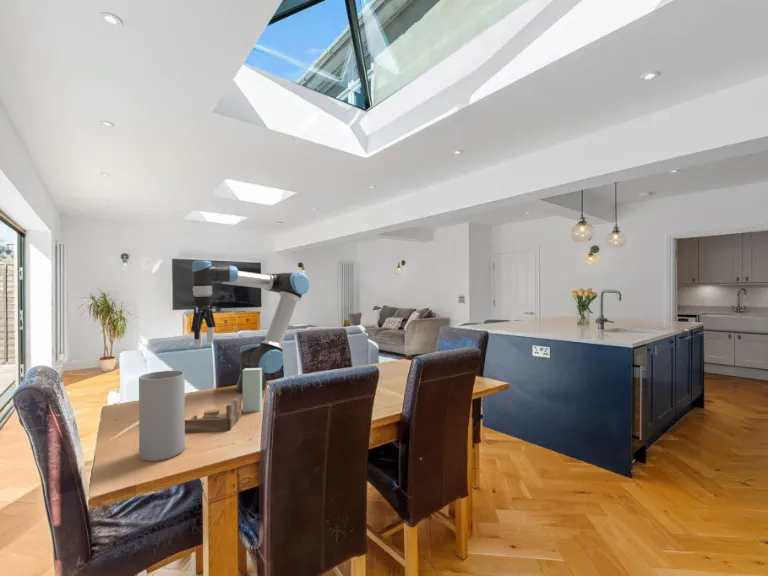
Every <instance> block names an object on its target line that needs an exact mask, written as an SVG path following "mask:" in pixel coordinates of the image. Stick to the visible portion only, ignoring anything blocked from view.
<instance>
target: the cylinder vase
mask: <svg viewBox="0 0 768 576" xmlns="http://www.w3.org/2000/svg"><path fill="white" fill-rule="evenodd" d="M185 392H186V390H185V371H184V370H183V371H182V370H162V371H154V372H149V373H144V374H142V375H140V376H138V430H139V431H138V432H139V433H138V439H139V440H138V441H139V442H138V443H139V445H138V450H139V452H138V455H139V458H140V459H141V460H142V461H146V462H158V461H165V460H168V459H172V458H174V457H176V456H179V455H180V454H181V453H182V452H183V451H184V450H185V447H186V437H185V436H186V432H185V420H186V419H185V418H186V417H185V415H186V413H185V410H186V409H185V408H186V407H185V406H186V405H185V403H186V401H185V398H186V397H185V394H186V393H185Z"/></svg>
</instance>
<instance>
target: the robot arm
mask: <svg viewBox="0 0 768 576" xmlns="http://www.w3.org/2000/svg"><path fill="white" fill-rule="evenodd" d="M191 268H192V270H191V272H192V289H191V290H192V292H193V293H192V294H193V296H194V297H193V299H192V300H193V302H192V303H193V305H194V306H197V307H193V317H192V321H191V322H192V323H191V329H190V331H191V333H192V332H193V342H194V345H193V346H194V348H202V347H203V344H202V341H203V339H202V330H201V329H202V326H203V323H204V322H205V324H206V343H214V334H215V333H214V328H215V327H216V321H215V317H214V314H213V313H214V312H213V306H212V305H213V304H214V303H213V296H212V295H213V284H223V285H230V286H240V287H247V288H248V287H250V288H257V289H264V291H267V292H274V293H279V296H280V298H279V302H278V303H277V307H276V309H275V310H274V313H273V314H274V315H273V317H272V320H271V323H270V325H269V329H268V330H267V333H266V336H265V339H264V340H263V341H260V343H257V344H256V343H255V344H248V345H246V344H245V345H242V346H241V347H240V348H239V377H238V381H237V383H236V391H237V392H241V393H243V372H242V370H244V369H245V368H262V391H264V390H266V389H265V387H266V384H267V385H268V383H267V379H266V376H265V374H275V373H276V372H278V371H279V370H280V369H281V368H282V366H283V365H284V361H285V358H284V354H283V351H284V347H283V346H282V345H283V342H284V339H285V337H286V333H287V331H288V327H289V325H290V321H291V319H292V316H293V313H294V310H295V308H296V306H297V302H299V301H301V299H302V297H303V295H305V294H307V292H308V291H309V290H310V280H309V278H308V277H307V275H306V274H305V273H303V272H299V271H294V272H280V273H270V272H269V273H266V274H263V273H257V272H250V271H243V270H239V269H238V268H237V266H234V265H230V264H229V265H215V264H214V265H213V264H212V261H211V260H201V259H200V260H198V259H197V260H193V262H192V267H191Z"/></svg>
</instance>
